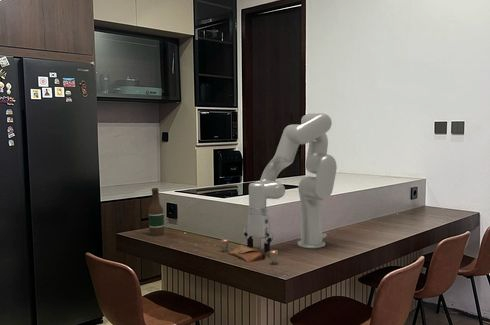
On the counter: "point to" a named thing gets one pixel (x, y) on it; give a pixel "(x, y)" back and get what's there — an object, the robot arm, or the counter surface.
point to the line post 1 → (225, 245)
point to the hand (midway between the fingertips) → (258, 249)
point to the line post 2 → (273, 257)
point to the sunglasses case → (247, 254)
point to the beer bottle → (156, 215)
